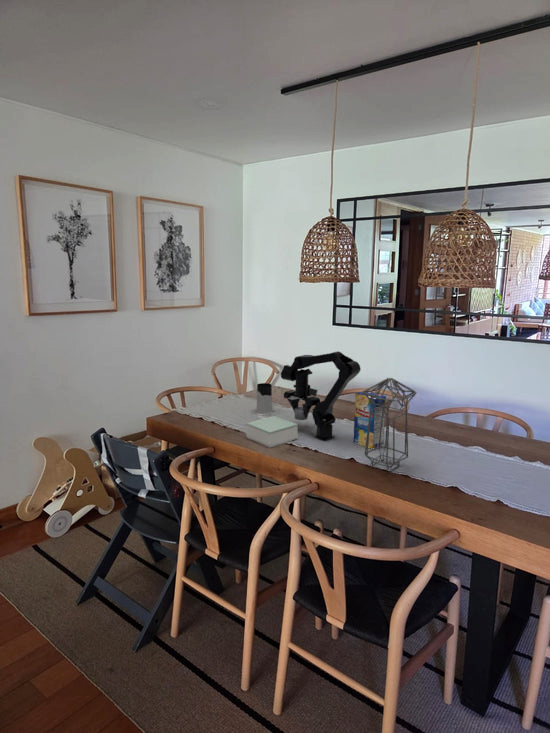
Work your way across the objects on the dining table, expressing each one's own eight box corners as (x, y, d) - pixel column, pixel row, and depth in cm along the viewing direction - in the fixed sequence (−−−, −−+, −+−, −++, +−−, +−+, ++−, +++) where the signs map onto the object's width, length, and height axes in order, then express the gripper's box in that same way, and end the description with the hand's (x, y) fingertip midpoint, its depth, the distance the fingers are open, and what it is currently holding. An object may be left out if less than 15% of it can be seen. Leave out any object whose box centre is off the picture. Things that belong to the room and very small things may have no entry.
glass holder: (254, 411, 252) (254, 383, 249) (280, 409, 256) (280, 381, 253) (258, 416, 244) (258, 387, 241) (284, 414, 248) (285, 385, 245)
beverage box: (372, 450, 200) (375, 399, 195) (353, 442, 208) (355, 393, 204) (383, 446, 204) (386, 396, 200) (363, 439, 213) (366, 390, 208)
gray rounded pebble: (310, 418, 221) (310, 408, 220) (300, 421, 217) (301, 411, 217) (301, 415, 226) (301, 406, 225) (291, 417, 222) (292, 408, 221)
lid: (297, 426, 211) (297, 424, 210) (269, 434, 200) (269, 432, 200) (273, 417, 222) (273, 415, 222) (246, 424, 212) (246, 423, 212)
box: (297, 439, 212) (297, 426, 211) (269, 447, 202) (269, 434, 200) (273, 430, 224) (273, 417, 222) (246, 437, 213) (246, 424, 212)
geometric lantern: (414, 466, 184) (420, 378, 176) (391, 479, 173) (396, 386, 165) (379, 454, 195) (383, 370, 187) (355, 466, 184) (359, 377, 176)
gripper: (329, 384, 216) (328, 417, 220) (300, 376, 230) (299, 408, 233) (311, 387, 209) (310, 422, 213) (283, 380, 223) (282, 412, 226)
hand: (301, 415), depth 221 cm, fingers closed on gray rounded pebble, 6 cm apart
